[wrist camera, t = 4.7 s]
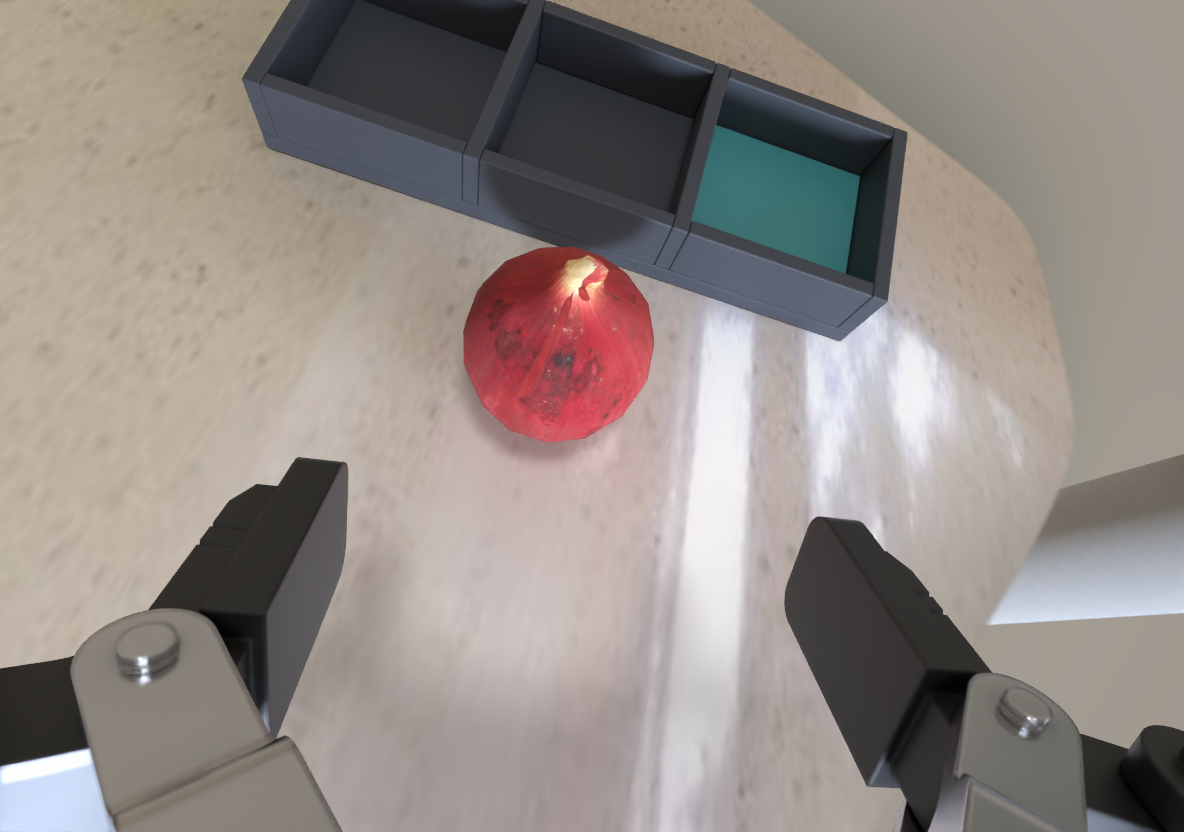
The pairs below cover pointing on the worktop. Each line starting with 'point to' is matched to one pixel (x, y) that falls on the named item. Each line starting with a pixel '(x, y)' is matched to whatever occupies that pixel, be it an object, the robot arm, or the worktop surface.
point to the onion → (558, 343)
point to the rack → (595, 146)
